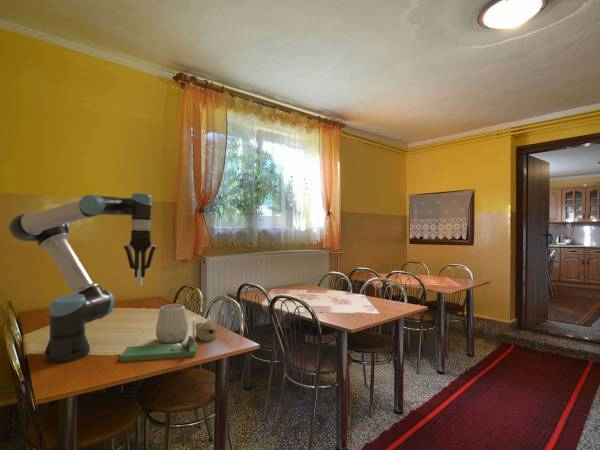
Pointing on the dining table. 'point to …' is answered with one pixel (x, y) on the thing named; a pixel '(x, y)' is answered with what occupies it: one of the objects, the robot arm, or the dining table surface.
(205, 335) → the seashell
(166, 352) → the green
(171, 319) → the vase
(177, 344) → the ball
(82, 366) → the dining table surface
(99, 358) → the dining table surface
